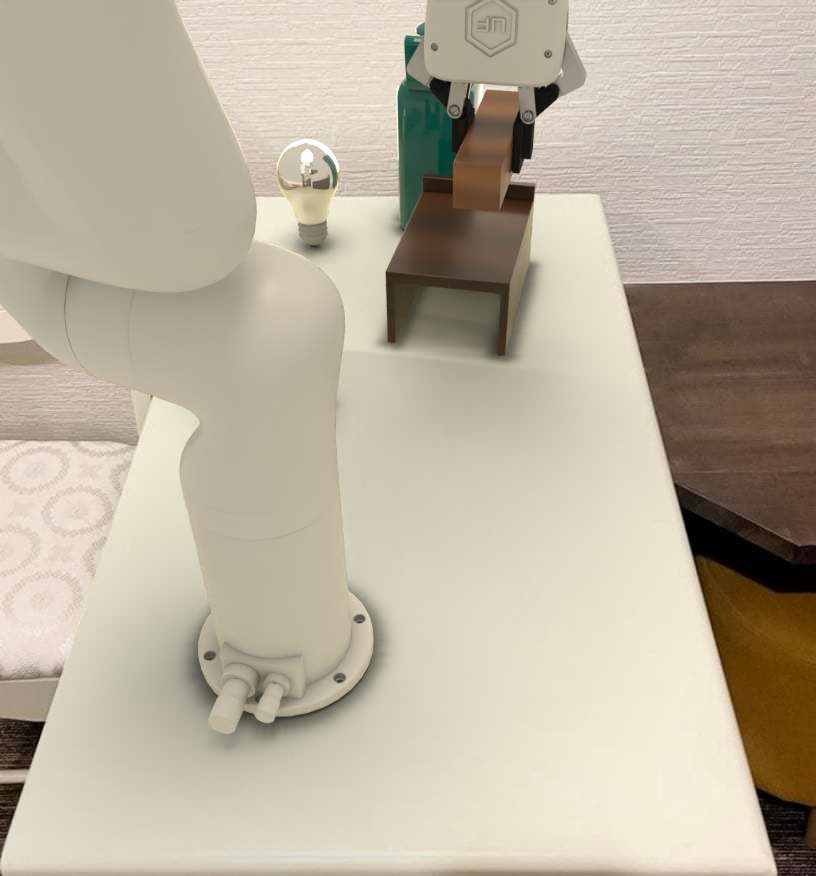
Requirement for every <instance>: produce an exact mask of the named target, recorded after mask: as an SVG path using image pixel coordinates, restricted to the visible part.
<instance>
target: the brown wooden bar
mask: <svg viewBox="0 0 816 876" xmlns="http://www.w3.org/2000/svg"><path fill="white" fill-rule="evenodd" d="M518 110H519V97H518V91H515V90H501V89H500V90H499V89H485V92H484V93H483V98H482V100H481V103H480V105H479V107H478V109H477V112H476V114H475V117H474V119H473V121H472V123H471V126H470V128H469V130H468V132H467V134H466V136H465V138H464V140H463V143H462V145H461V147H460V149H459V152H458V154H457V156H456V158H455V161H454V163H453V208H462V209H473V210H484V211H495V212H499V211H500V208H501V205H502V202H503V200H504V197H505V194H506V191H507V188H508V185H509V182H510V181H511V179H512V176H513V174H514V173H513V172H512V171H511V166H512V148H513V135H512V134H513V124H514V121H515V119H516V116H517V113H518Z"/></svg>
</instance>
